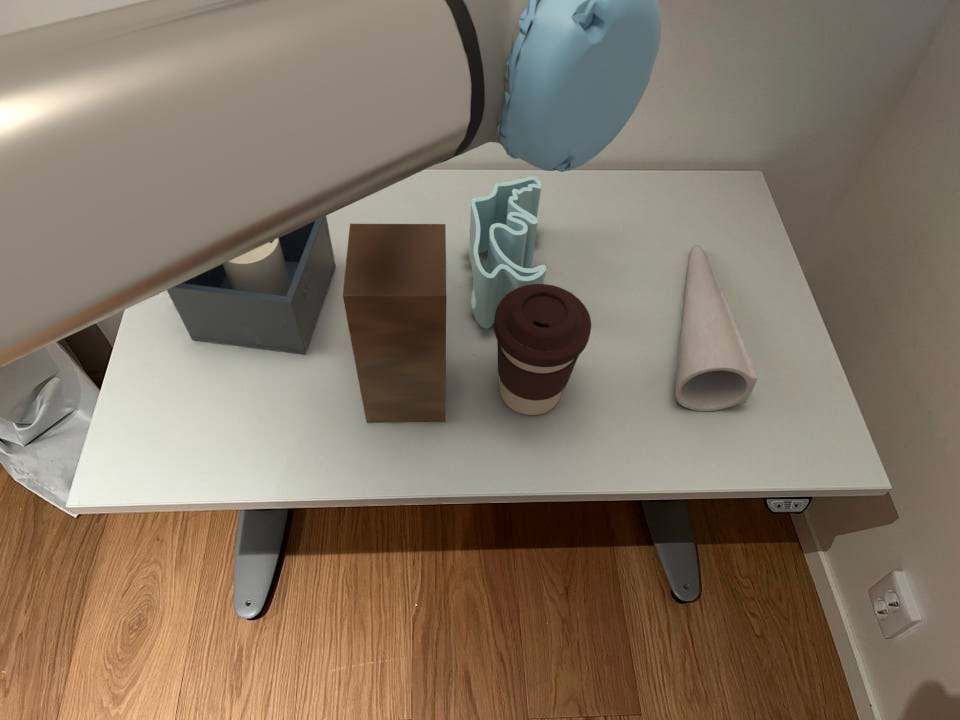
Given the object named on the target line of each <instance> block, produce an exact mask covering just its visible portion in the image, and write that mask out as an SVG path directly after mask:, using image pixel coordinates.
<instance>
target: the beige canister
mask: <svg viewBox="0 0 960 720" xmlns="http://www.w3.org/2000/svg"><path fill="white" fill-rule="evenodd" d="M222 266H223V269H224V271H225V274H226V277H227V279H228V282H229V284H230V287H231V290H239V291H247V292H255V293H263V294H271V295H279V296H286V295H287V293H288V290H289V288H290V285H291V280H290V276H289V273H288V269H287V265H286V262H285V258H284V255H283V251H282V247H281V244H280V240H279V238H277V239H275V240H274V241H273V242H272V243H270V242H269V243H266V244H264V245H262V246H260V247H258V248H256V249H254V250H251V251H249V252H247V253H245V254H243V255H241V256H239V257H236V258H234V259H232V260H230V261H228V262H226V263H224V264H222Z"/></svg>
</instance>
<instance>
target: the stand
mask: <svg viewBox="0 0 960 720" xmlns="http://www.w3.org/2000/svg"><path fill="white" fill-rule="evenodd" d="M446 229H447V228H446V224H445V223H349V231H348V240H347V250H346V259H345V267H344V268H345V270H344V276H343V289H342V301H343V306H344V310H345V311H344V312H345V316H346V322H347V326H348V333H349V338H350V343H351V348H352V354H353V359H354V364H355V369H356V374H357V380H358V386H359V391H360V395H361V402H362V406H363V412H364V418H365V423H366V424H404V423H415V424H416V423H447V242H446V241H447V239H446V237H447V236H446V235H447V234H446V232H447V231H446Z"/></svg>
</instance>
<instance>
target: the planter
mask: <svg viewBox="0 0 960 720" xmlns="http://www.w3.org/2000/svg"><path fill="white" fill-rule="evenodd" d="M688 259H689V260H688V264H687V273H686V281H685V291H684V292H685V293H684V300H683V301H684V302H683V311H682V323H681V331H680V339H679V351H678V352H679V353H678V362H677V369H676V370H677V371H676V379H675V389H674V395H675V399H676V401H677V403H679V404H680V405H681V406H683V407H684V408H686V409H688V410H693V411H697V412H716V411H721V410H724V409H728V408H731V407H733V406H735V405H738V404H746V403H747V401H748V399H749V398H750V395H751V394H752V391H753V390H754V387H755V386H756V384H757V382H758V379H759V377H758V375H757V372H756V370H755V368H754V364H753V363H752V360H751V358H750V355H749V353H748V350H747V347H746V345H745V342H744V341H743V337H742V335H741V333H740V330H739V328H738V325H737V322H736V321H735V318H734V315H733V313H732V310H731V308H730V306H729V303H728V300H727V298H726V295H725V294H724V293H725V292H724V291H723V290H720V288H719V287H718V284H717V281H716V279H715V276H714V273H713V271H712V268H711V266H710V262H709V258H708V256H707V253H706V251H705V250H704V249H703V247H702V246H701V245H698V244H696V245H694V246H692V247H691V249H690V251H689V258H688Z"/></svg>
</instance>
